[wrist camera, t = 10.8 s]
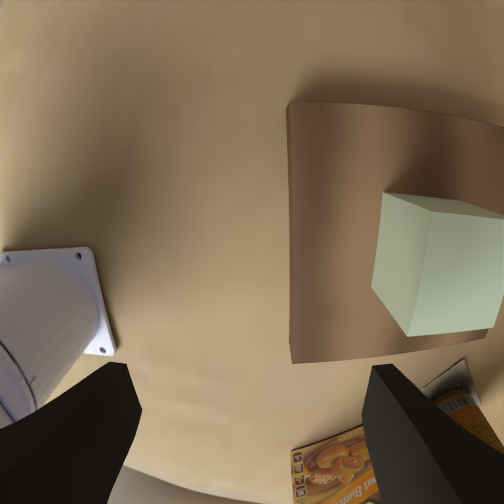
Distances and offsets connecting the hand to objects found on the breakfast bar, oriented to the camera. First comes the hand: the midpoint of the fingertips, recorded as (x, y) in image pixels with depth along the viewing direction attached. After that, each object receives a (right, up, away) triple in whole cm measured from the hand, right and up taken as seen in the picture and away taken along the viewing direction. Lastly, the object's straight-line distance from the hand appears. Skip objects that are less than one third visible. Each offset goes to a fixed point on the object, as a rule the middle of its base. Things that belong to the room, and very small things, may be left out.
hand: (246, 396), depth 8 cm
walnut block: (+9, +6, +10) cm, 14 cm away
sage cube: (+9, +5, +7) cm, 12 cm away
